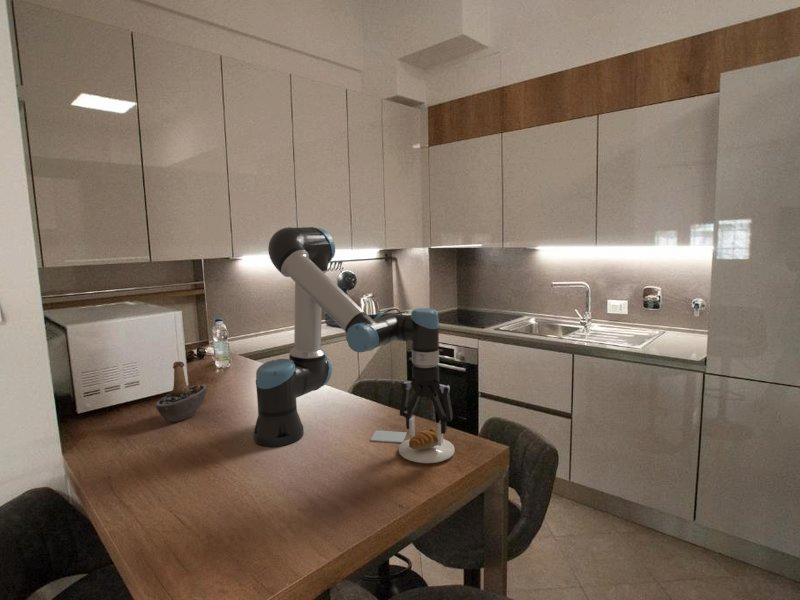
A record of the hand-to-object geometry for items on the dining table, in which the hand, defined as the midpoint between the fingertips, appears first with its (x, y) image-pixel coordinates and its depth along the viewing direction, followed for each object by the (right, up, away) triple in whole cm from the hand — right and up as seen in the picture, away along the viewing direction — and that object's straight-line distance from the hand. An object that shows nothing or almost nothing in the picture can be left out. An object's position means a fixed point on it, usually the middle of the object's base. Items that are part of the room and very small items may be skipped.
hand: (426, 441), depth 136 cm
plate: (0, -3, 0) cm, 3 cm away
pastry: (0, -1, 0) cm, 1 cm away
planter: (-83, -1, +30) cm, 88 cm away
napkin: (-11, -2, +11) cm, 15 cm away
